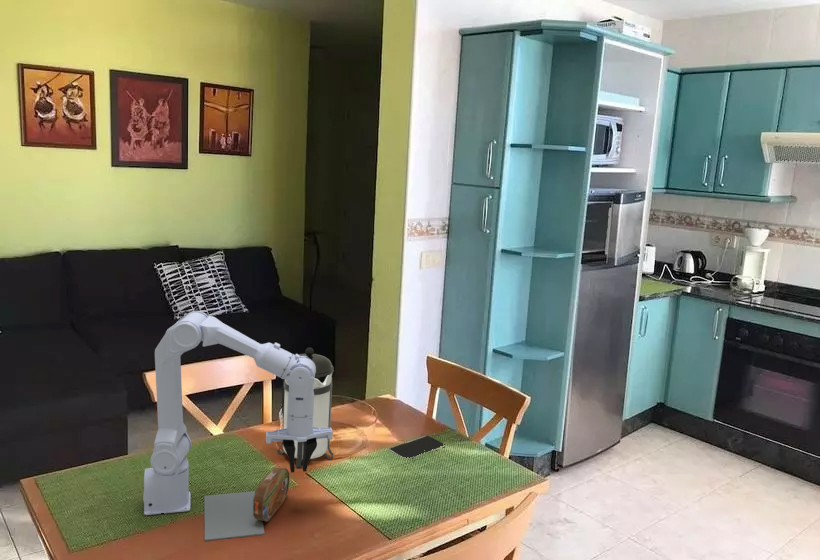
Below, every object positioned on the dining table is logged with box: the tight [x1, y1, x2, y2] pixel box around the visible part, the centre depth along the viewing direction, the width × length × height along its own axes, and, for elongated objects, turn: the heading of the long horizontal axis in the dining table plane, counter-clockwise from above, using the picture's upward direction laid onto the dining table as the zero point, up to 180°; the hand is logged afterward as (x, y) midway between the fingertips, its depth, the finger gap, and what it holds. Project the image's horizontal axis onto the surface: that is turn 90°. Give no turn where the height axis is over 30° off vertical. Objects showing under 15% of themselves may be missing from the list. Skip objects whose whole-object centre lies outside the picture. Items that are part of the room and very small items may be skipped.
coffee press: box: [277, 347, 335, 469], centre depth 173 cm, size 17×16×30 cm
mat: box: [203, 490, 265, 542], centre depth 144 cm, size 12×18×1 cm, turn 17°
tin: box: [253, 467, 290, 522], centre depth 146 cm, size 15×3×8 cm, turn 168°
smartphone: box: [388, 435, 446, 458], centre depth 183 cm, size 8×1×15 cm
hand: (298, 470), depth 147 cm, fingers open, 2 cm apart
